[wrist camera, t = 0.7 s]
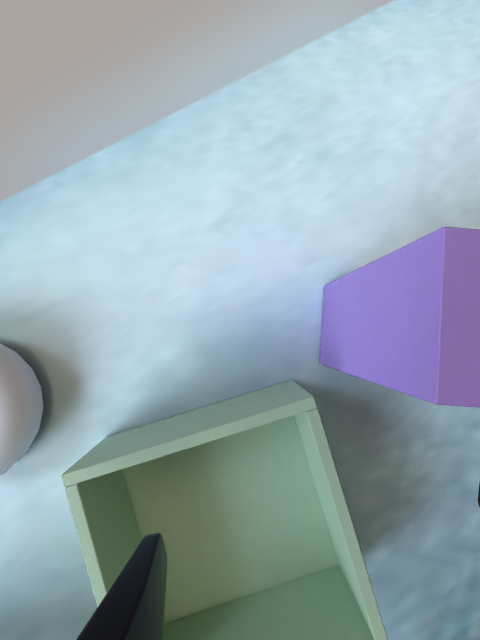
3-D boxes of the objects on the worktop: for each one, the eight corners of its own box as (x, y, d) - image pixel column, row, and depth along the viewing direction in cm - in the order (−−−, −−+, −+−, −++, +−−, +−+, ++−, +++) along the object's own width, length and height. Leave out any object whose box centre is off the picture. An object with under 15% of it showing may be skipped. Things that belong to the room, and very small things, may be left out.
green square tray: (348, 565, 22) (391, 651, 16) (160, 629, 22) (134, 743, 16) (291, 379, 23) (314, 396, 17) (106, 436, 22) (60, 475, 16)
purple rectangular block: (357, 366, 23) (524, 410, 10) (318, 363, 23) (436, 404, 10) (362, 288, 23) (530, 233, 10) (323, 285, 23) (444, 226, 10)
